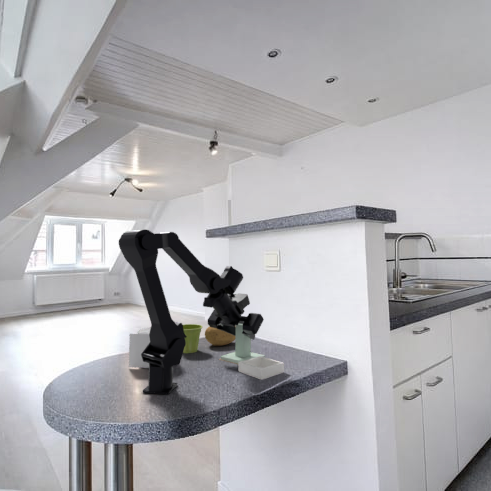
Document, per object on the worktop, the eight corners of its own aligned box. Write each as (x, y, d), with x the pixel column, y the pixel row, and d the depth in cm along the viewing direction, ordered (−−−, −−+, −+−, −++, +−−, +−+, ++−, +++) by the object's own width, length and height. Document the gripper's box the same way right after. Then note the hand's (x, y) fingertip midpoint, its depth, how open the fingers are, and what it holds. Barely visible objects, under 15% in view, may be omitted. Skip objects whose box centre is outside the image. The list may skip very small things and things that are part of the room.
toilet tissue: (178, 360, 105) (179, 327, 106) (159, 371, 93) (160, 335, 94) (148, 357, 108) (149, 326, 108) (126, 368, 96) (127, 333, 97)
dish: (261, 381, 87) (261, 369, 87) (238, 372, 93) (238, 362, 93) (283, 373, 93) (283, 362, 93) (260, 366, 99) (260, 356, 100)
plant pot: (196, 356, 109) (197, 329, 110) (169, 354, 111) (170, 328, 111) (205, 349, 118) (206, 324, 119) (180, 347, 120) (181, 323, 121)
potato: (197, 346, 123) (198, 324, 123) (226, 340, 132) (227, 320, 133) (213, 351, 116) (214, 328, 116) (243, 345, 125) (243, 323, 126)
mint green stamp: (245, 365, 98) (246, 328, 99) (220, 359, 105) (221, 324, 105) (264, 358, 106) (265, 323, 107) (240, 353, 113) (241, 320, 113)
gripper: (260, 286, 98) (280, 320, 106) (214, 284, 109) (235, 314, 118) (243, 317, 91) (265, 350, 99) (196, 310, 103) (219, 340, 111)
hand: (245, 336), depth 107 cm, fingers open, 6 cm apart
